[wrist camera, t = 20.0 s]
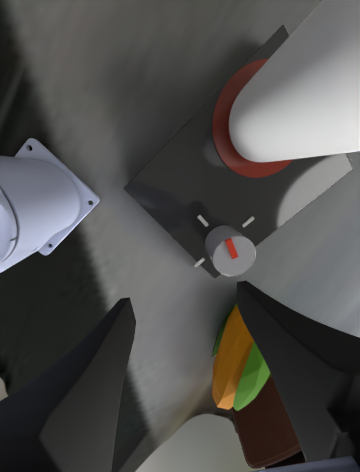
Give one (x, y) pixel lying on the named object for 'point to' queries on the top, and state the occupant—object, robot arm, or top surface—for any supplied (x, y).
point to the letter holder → (267, 431)
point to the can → (305, 91)
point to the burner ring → (222, 127)
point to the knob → (230, 250)
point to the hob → (226, 184)
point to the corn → (237, 364)
